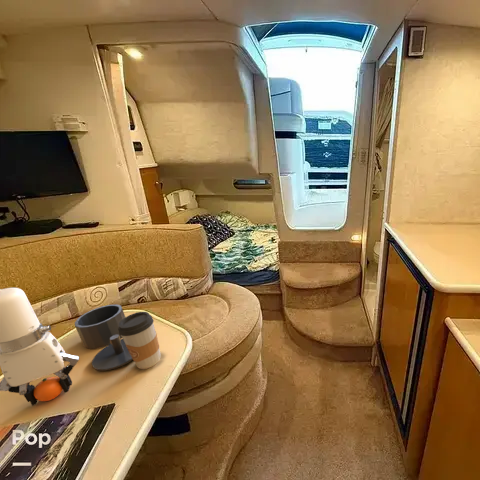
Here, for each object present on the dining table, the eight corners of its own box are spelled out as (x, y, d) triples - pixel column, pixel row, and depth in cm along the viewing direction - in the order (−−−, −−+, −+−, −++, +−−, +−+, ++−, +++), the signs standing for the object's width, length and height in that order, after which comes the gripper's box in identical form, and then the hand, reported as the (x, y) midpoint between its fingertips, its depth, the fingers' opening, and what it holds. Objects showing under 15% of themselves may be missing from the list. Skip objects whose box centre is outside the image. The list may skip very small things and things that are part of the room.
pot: (85, 355, 84) (75, 332, 81) (82, 336, 93) (73, 316, 90) (132, 334, 92) (124, 314, 89) (125, 319, 101) (118, 300, 98)
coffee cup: (126, 368, 78) (108, 326, 72) (151, 348, 85) (137, 308, 80) (146, 375, 75) (130, 331, 70) (171, 354, 82) (158, 313, 77)
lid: (95, 380, 74) (87, 361, 72) (91, 355, 84) (83, 338, 81) (151, 353, 83) (145, 336, 81) (141, 333, 92) (135, 317, 90)
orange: (33, 409, 67) (22, 391, 65) (48, 390, 72) (39, 373, 70) (58, 403, 68) (49, 385, 66) (72, 385, 73) (64, 368, 71)
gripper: (71, 316, 71) (95, 369, 77) (-24, 345, 62) (11, 401, 69) (65, 331, 65) (92, 387, 71) (-41, 365, 56) (-1, 425, 63)
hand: (52, 393), depth 70 cm, fingers closed on orange, 5 cm apart
